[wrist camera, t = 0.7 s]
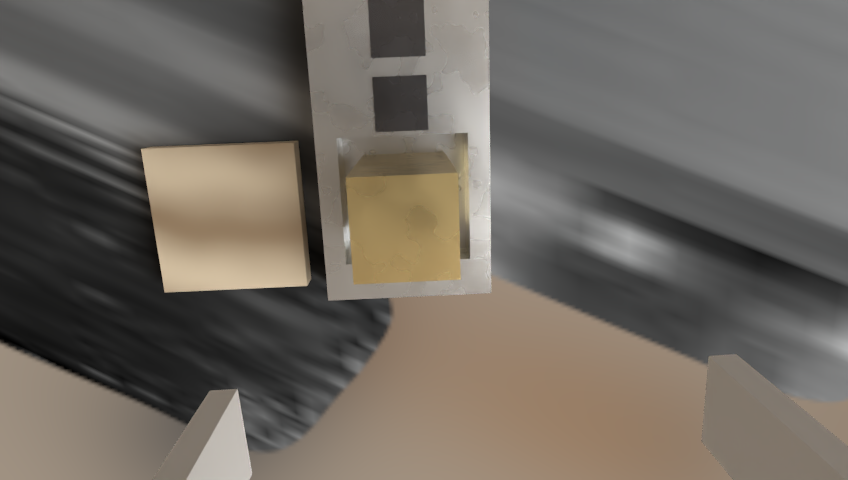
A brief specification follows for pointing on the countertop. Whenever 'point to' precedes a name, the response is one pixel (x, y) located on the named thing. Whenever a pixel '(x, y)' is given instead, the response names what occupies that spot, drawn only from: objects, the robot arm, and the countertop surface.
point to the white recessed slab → (401, 118)
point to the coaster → (228, 215)
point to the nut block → (404, 218)
